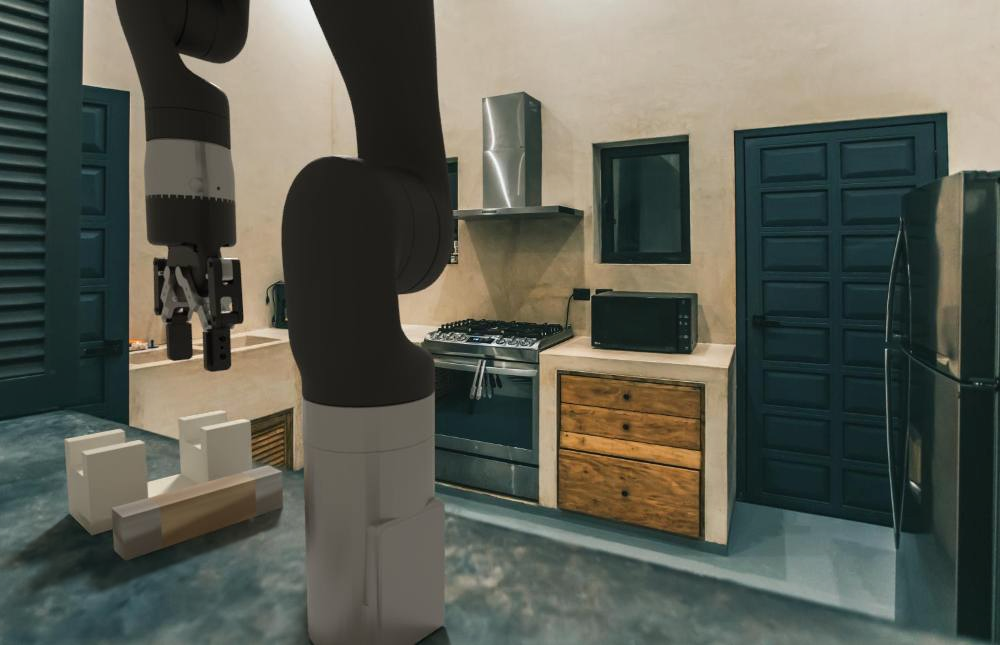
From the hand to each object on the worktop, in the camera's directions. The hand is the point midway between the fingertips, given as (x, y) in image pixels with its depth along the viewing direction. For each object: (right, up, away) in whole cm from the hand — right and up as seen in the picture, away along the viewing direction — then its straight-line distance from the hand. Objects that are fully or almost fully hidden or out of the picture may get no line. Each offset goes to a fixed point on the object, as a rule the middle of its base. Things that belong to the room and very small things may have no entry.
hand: (198, 364), depth 56 cm
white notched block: (-8, -16, +8) cm, 19 cm away
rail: (0, -16, +2) cm, 17 cm away
